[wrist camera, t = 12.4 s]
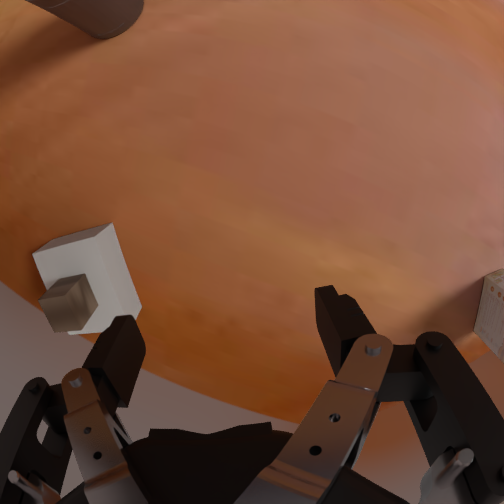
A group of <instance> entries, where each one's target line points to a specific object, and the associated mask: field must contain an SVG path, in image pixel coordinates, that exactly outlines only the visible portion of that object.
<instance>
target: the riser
mask: <svg viewBox="0 0 504 504" xmlns="http://www.w3.org/2000/svg"><path fill="white" fill-rule="evenodd" d="M32 255H33V258H34V260H35V263H36V265H37V268H38V270H39V273H40V275H41V278H42V280H43V282H44V285H45V287H46V289H47V290H48V289H49V288H50V287H51V286H52V285H53V284H54V283H55V282H56V281H57V280H58V279H60V278H65V277H70V276H75V275H80V274H86V277H87V279H88V282H89V284H90V286H91V289H92V291H93V293H94V296H95V298H96V300H97V303H98V305H99V306H98V307H97V308H96V310H95V311H94V313H93V314H92V316H91V317H90V319H89V320H88V322H87V323H86V325H85V326H84V328H83V329H82V330H80V331H68V334H69V335H72V334H85V333H96V332H103V331H104V330H105V329H106V328H107V327H109V326H110V324H111V323H112V321H113V319H114V318H115V316H120V315H132V316H133V317H134V319H135V320H136V318H137V316H138V314H139V312H140V310H141V308H142V306H141V303H140V301H139V298H138V295H137V293H136V290H135V288H134V285H133V282H132V280H131V277H130V274H129V271H128V269H127V266H126V263H125V260H124V257H123V254H122V251H121V248H120V245H119V242H118V239H117V236H116V233H115V229H114V226H113V223H109V224H105V225H101V226H98V227H94V228H90V229H87V230H83V231H80V232H76V233H73V234H69V235H66V236H62V237H59V238H56V239H52V240H51V241H50V242H48V243H47V244H45V245H44V246H42V247H41V248H40V249H38V250H37V251H35V252H34V253H33V254H32Z"/></svg>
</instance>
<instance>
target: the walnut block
mask: <svg viewBox="0 0 504 504" xmlns="http://www.w3.org/2000/svg"><path fill="white" fill-rule="evenodd" d="M38 301H39V303H40V305H41V307H42V309H43V311H44V313H45V315H46V317H47V319H48V321H49V323H50V325H51V327H52V329H53V331H54V332H68V331H80V330H82V329H83V328H84V326H85V325H86V323H87V322H88V320H89V319H90V317H91V316H92V314H93V313H94V311H95V310H96V308H97V307H98V306H99V305H98V303H97V300H96V298H95V296H94V293H93V291H92V289H91V286H90V284H89V282H88V279H87V277H86V274H80V275H75V276H70V277H65V278H60V279H58V280H57V281H56V282H55V283H54V284H53V285H52V286H51V287H50V288H49V289H48V290H47V291H46V292H45V293H44V294H43V295H42V296H41V297H40V298H39V299H38Z"/></svg>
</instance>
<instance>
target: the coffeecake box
mask: <svg viewBox="0 0 504 504" xmlns="http://www.w3.org/2000/svg"><path fill="white" fill-rule="evenodd" d="M473 331H474V332H475V333H476V334H477V335H478V336H479V337H480V338H481V339H482V341H483V342H484V343H485V344H486V345H487V346H488V347H489V348H490V349H491V350H492V351H493V352H494V354H495V355H497V357H498V358H499V359H500V360H501V361H502V362H503V364H504V269H500V270H498V271H496V272H494V273H491V274H489V275H486V276H485V278H484V285H483V290H482V295H481V300H480V305H479V309H478V314H477V318H476V322H475V326H474V330H473Z"/></svg>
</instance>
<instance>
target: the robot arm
mask: <svg viewBox="0 0 504 504" xmlns="http://www.w3.org/2000/svg"><path fill="white" fill-rule="evenodd" d="M25 1H28V2H30V3H32V4H34V5H36V6H38V7H40V8H42V9H44V10H46V11H48V12H50V13H52V14H54V15H56V16H57V17H59V18H61V19H63V20H65V21H67V22H68V23H70V24H72V25H74V26H76V27H77V28H79V29H81V30H82V31H84V32H86V33H88V34H89V35H91V36H93V37H95V38H99V39H105V38H111V37H114V36H117V35H119V34H121V33H122V32H124V31H125V30H127V29H128V28H129V27H130V26H132V25H133V24H134V22H135V21H136V20H137V19H138V17H139V16H140V14H141V12H142V9H143V3H144V2H143V0H25ZM315 309H316V323H317V328H318V332H319V335H320V337H321V340H322V342H323V345H324V348H325V350H326V353H327V356H328V358H329V361H330V364H331V366H332V369H333V372H334V374H335V377H336V378H335V380H334V381H333V380H328V381H327V383H326V384H325V385H324V387H323V389H322V390H321V392H320V394H319V395H318V397H317V398H316V400H315V402H314V403H313V405H312V406H311V408H310V410H309V411H308V413H307V414H306V416H305V417H304V419H303V420H302V422H301V423H300V425H299V426H298V428H297V430H296V431H295V432H294V434H292V433H289V432H284V431H277V430H272V425H271V422H265V423H258V424H249V425H239V426H236V427H233V428H229V429H226V430H223V431H219V432H215V433H211V434H200V433H195V432H190V431H185V430H180V429H150V432H149V436H148V437H147V438H143V439H140V440H138V441H135V442H133V441H132V440H131V438H130V436H129V434H128V432H127V431H126V429H125V427H124V425H123V423H122V421H121V419H120V417H119V416H118V414H117V413H116V409H117V407H124V408H127V407H128V405H129V401H130V398H131V395H132V392H133V389H134V386H135V383H136V380H137V377H138V374H139V371H140V368H141V365H142V362H143V360H144V357H145V353H146V347H145V342H144V340H143V337H142V335H141V333H140V330H139V328H138V326H137V323H136V321H135V319H134V317H133V316H132V315H120V316H115V318H114V319H113V321H112V323H111V324H110V326H109V327H107V328H106V329H105V330H104V331H103V332H102V333H101V334H100V335H99V337H98V339H97V341H96V343H95V344H94V346H93V349H92V350H91V352H90V353H89V355H88V357H87V359H86V360H85V362H84V364H83V366H82V368H77V369H74V370H72V371H70V372H68V373H67V374H66V375H65V376H64V378H63V379H62V383H61V384H56V385H52V386H49V384H48V383H47V381H46V380H45V379H44V378H42V377H37V378H34V379H32V380H30V381H29V382H28V383H27V384H26V385H25V386H24V388H23V390H22V392H21V394H20V395H19V397H18V399H17V401H16V403H15V405H14V407H13V408H12V410H11V412H10V414H9V416H8V418H7V420H6V422H5V425H4V427H3V429H2V431H1V433H0V504H410V503H408V502H407V501H406V500H404V499H402V498H400V497H399V496H397V495H395V494H393V493H391V492H389V491H387V490H386V489H384V488H382V487H380V486H379V485H377V484H375V483H373V482H372V481H370V480H368V479H366V478H365V477H363V476H361V475H360V474H358V473H357V472H355V471H353V470H352V469H353V467H354V465H355V463H356V461H357V459H358V457H359V454H360V452H361V450H362V447H363V445H364V442H365V440H366V437H367V435H368V433H369V430H370V428H371V426H372V423H373V421H374V419H375V416H376V414H377V412H378V409H379V407H380V404H381V402H391V401H404V403H405V406H406V408H407V410H408V413H409V415H410V417H411V420H412V422H413V425H414V427H415V429H416V432H417V434H418V437H419V439H420V442H421V444H422V447H423V450H424V452H425V455H426V457H427V460H428V463H429V465H430V468H429V470H428V471H427V472H426V473H425V475H424V476H423V478H422V480H421V485H420V490H421V498H420V501H419V503H418V504H499V503H501V502H502V501H504V419H503V418H502V416H501V414H500V413H499V411H498V409H497V408H496V406H495V404H494V403H493V401H492V400H491V398H490V396H489V395H488V393H487V392H486V390H485V389H484V387H483V386H482V384H481V383H480V381H479V380H478V378H477V377H476V375H475V374H474V372H473V371H472V369H471V368H470V367H469V365H468V364H467V362H466V361H465V359H464V358H463V357H462V355H461V354H460V352H459V351H458V350H457V348H456V347H455V346H454V344H453V343H452V341H451V340H450V339H449V338H448V337H447V336H446V335H444V334H442V333H439V332H425V333H423V334H421V335H420V336H419V337H418V338H417V339H416V343H415V344H413V345H394V344H392V342H391V341H390V339H388V338H387V337H385V336H383V335H380V334H377V333H376V331H375V330H374V328H373V327H372V325H371V324H370V322H369V320H368V319H367V317H366V316H365V314H364V313H363V311H362V309H361V308H360V306H359V305H358V303H357V302H356V300H355V299H354V298H352V297H350V296H349V295H347V294H343V295H338V293H337V292H336V290H335V288H334V287H333V285H329V286H323V287H318V288H315ZM42 419H43V421H44V422H45V423H46V424H47V425H48V426H49V427H48V430H47V432H46V435H45V437H44V440H43V442H42V445H41V444H40V443H39V441H38V439H37V429H38V427H39V425H40V423H41V420H42ZM72 449H73V452H74V455H75V458H76V460H77V463H78V466H79V469H80V471H81V474H82V477H83V479H84V482H82V483H81V484H80V485H79V486H77V487H76V488H75V489H73V490H72V491H71V492H70V493H68V494H67V495H66V496H64V497H63V498H62V499H61V498H60V493H61V489H62V485H63V481H64V477H65V474H66V470H67V466H68V463H69V459H70V456H71V452H72Z"/></svg>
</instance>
